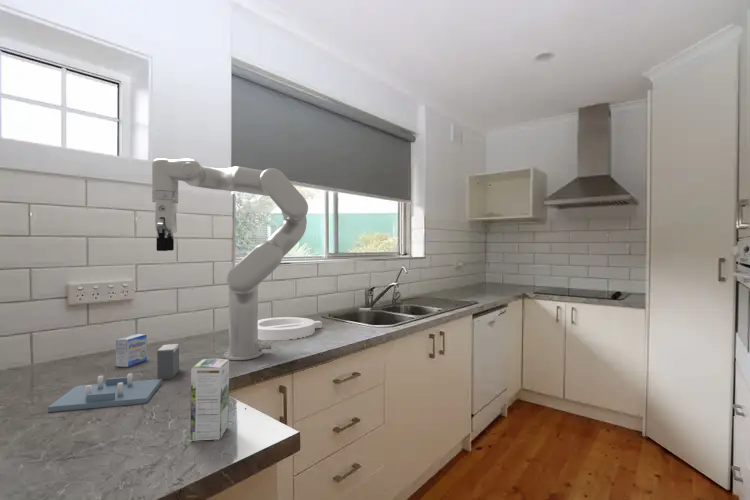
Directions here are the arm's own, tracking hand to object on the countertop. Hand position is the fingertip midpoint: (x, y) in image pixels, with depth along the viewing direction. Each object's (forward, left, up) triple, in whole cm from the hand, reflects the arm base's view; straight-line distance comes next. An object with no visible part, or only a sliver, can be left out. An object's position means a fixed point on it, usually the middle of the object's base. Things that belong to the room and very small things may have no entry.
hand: (165, 250), depth 129 cm
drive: (-4, +14, -36) cm, 39 cm away
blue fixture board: (+6, +29, -36) cm, 47 cm away
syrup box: (-21, +57, -36) cm, 71 cm away
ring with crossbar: (-38, -34, -37) cm, 63 cm away
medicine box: (+10, -1, -36) cm, 38 cm away
